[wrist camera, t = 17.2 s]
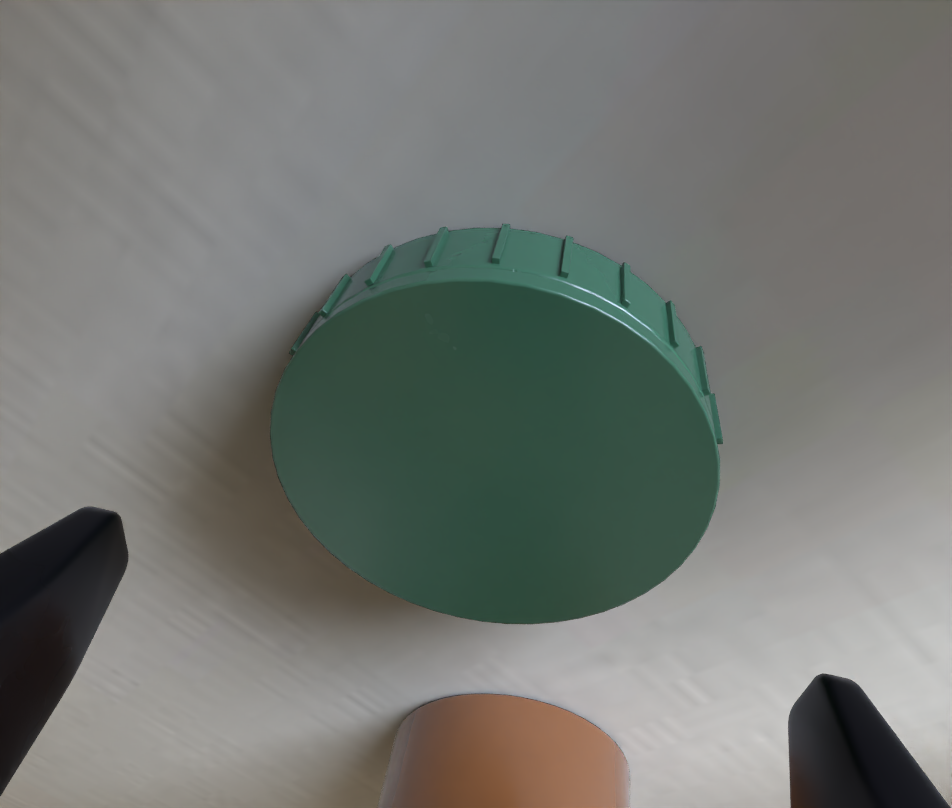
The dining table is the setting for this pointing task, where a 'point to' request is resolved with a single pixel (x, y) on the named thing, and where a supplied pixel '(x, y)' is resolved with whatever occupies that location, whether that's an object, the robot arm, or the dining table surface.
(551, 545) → the jar lid
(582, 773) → the honey jar
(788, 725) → the robot arm
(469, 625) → the dining table surface
